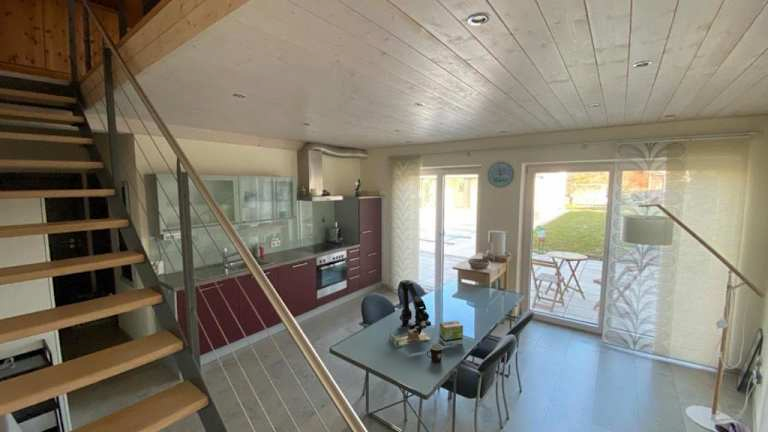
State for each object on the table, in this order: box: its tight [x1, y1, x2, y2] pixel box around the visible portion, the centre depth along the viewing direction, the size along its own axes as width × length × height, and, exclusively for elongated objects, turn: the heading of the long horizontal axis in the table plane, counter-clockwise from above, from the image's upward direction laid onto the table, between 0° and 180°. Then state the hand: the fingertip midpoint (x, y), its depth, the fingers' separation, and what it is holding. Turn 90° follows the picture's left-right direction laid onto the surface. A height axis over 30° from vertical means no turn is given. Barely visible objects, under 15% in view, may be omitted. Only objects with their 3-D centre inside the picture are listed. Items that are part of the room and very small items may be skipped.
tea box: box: [438, 320, 464, 347], centre depth 247 cm, size 15×10×15 cm, turn 105°
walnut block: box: [407, 328, 418, 341], centre depth 252 cm, size 6×6×5 cm
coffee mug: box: [426, 343, 444, 364], centre depth 222 cm, size 12×9×10 cm
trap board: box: [389, 330, 431, 349], centre depth 251 cm, size 15×28×5 cm, turn 112°
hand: (419, 334), depth 254 cm, fingers closed
